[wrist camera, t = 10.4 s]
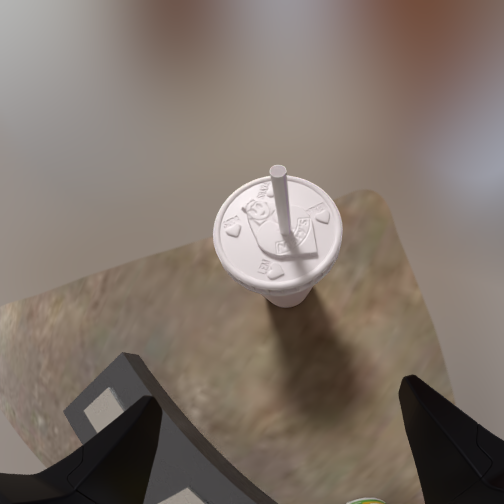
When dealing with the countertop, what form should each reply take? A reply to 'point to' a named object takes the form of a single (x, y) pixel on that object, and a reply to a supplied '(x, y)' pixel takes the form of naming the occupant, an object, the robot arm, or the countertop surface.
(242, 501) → the label box
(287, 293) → the smoothie
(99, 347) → the countertop surface
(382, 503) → the supplement bottle
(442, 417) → the robot arm
